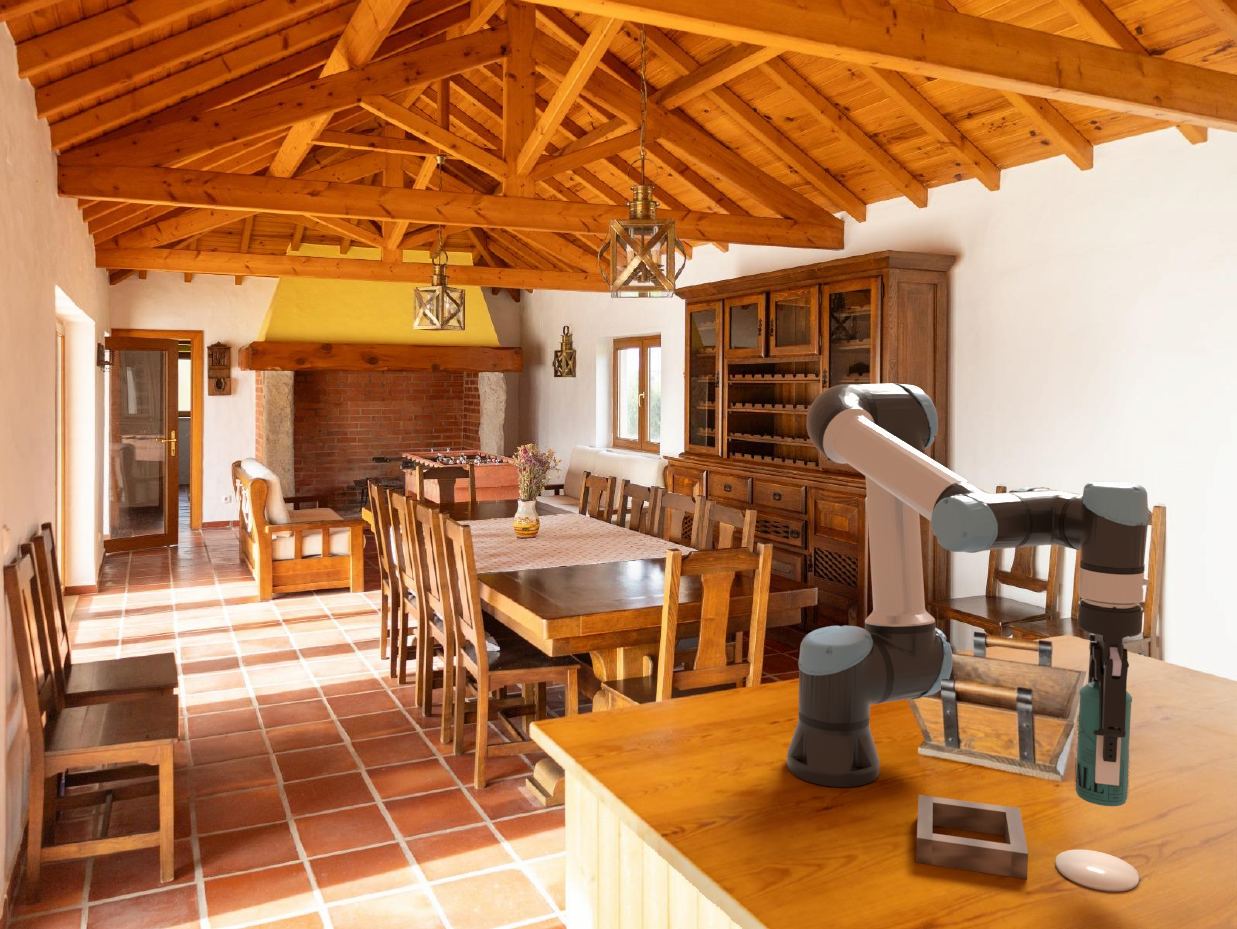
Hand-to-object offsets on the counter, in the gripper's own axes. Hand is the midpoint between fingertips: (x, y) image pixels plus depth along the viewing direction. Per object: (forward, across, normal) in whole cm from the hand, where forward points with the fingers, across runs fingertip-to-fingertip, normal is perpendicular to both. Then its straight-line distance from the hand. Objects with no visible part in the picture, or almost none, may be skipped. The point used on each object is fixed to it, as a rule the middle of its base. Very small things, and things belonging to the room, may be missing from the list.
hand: (1102, 771), depth 128 cm
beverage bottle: (+5, 0, 0) cm, 5 cm away
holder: (+14, +2, +16) cm, 21 cm away
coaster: (+14, 0, 0) cm, 14 cm away
